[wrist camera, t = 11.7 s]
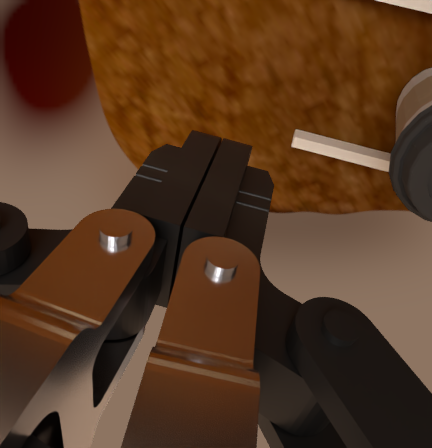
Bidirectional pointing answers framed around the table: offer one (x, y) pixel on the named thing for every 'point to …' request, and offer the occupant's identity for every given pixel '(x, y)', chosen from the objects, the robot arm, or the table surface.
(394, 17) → the table surface
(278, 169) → the table surface
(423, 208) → the coffee cup
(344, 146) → the guide track
